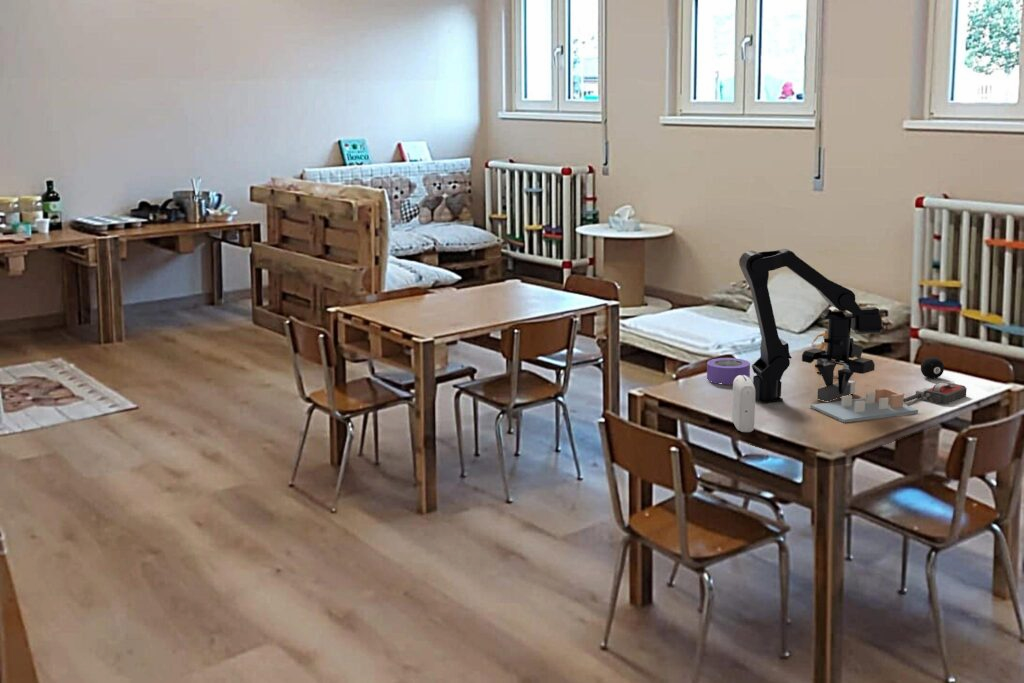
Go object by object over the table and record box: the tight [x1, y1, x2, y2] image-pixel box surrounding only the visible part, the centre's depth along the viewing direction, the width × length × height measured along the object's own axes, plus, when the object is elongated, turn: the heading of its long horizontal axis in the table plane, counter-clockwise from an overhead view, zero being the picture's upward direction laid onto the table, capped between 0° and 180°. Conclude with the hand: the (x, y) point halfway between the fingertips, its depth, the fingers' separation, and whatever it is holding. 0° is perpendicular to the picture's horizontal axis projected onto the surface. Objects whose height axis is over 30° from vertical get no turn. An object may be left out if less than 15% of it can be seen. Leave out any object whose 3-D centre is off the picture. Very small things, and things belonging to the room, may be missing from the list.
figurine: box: [811, 329, 828, 372], centre depth 323 cm, size 8×6×12 cm
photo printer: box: [731, 375, 756, 433], centre depth 273 cm, size 10×4×12 cm, turn 179°
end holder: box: [874, 387, 905, 408], centre depth 288 cm, size 3×7×3 cm, turn 20°
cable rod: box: [816, 379, 856, 402], centre depth 298 cm, size 12×3×3 cm, turn 130°
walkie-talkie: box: [903, 381, 968, 405], centre depth 294 cm, size 9×4×20 cm
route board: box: [809, 391, 919, 424], centre depth 285 cm, size 22×14×3 cm, turn 110°
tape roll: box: [706, 357, 751, 385], centre depth 316 cm, size 12×12×5 cm
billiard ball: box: [920, 356, 945, 380], centre depth 315 cm, size 6×6×6 cm
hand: (835, 392), depth 298 cm, fingers closed on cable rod, 3 cm apart
